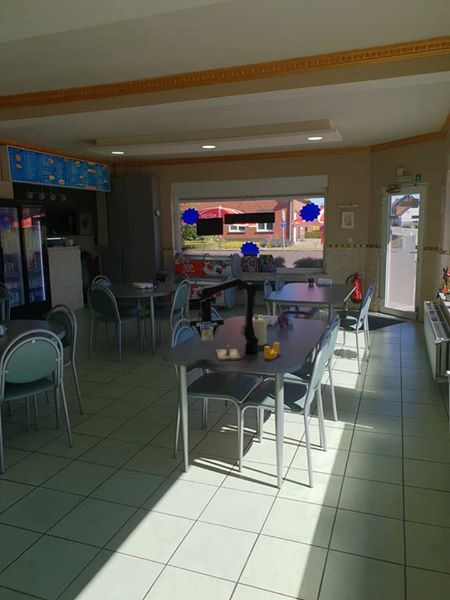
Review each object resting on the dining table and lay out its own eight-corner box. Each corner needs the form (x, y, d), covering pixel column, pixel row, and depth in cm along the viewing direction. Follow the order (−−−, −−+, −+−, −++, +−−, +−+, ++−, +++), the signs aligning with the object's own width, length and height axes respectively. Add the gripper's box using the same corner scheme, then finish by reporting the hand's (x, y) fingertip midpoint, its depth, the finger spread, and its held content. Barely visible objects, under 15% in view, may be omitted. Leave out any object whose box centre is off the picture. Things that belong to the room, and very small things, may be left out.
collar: (212, 337, 262) (212, 327, 261) (213, 340, 256) (212, 329, 255) (201, 337, 261) (200, 327, 260) (201, 340, 255) (201, 330, 254)
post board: (236, 350, 270) (236, 341, 269) (240, 359, 252) (240, 349, 251) (216, 351, 269) (216, 342, 268) (218, 360, 251) (218, 350, 250)
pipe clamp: (271, 359, 253) (271, 348, 252) (264, 358, 256) (264, 346, 254) (281, 354, 263) (282, 343, 262) (275, 353, 265) (275, 342, 264)
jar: (242, 344, 283) (242, 316, 280) (249, 339, 295) (249, 312, 292) (263, 346, 279) (263, 317, 276) (269, 341, 291) (269, 313, 288)
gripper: (221, 306, 265) (222, 333, 267) (189, 307, 263) (189, 334, 265) (223, 310, 254) (224, 337, 256) (189, 311, 252) (190, 339, 255)
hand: (207, 337), depth 258 cm, fingers closed on collar, 6 cm apart
